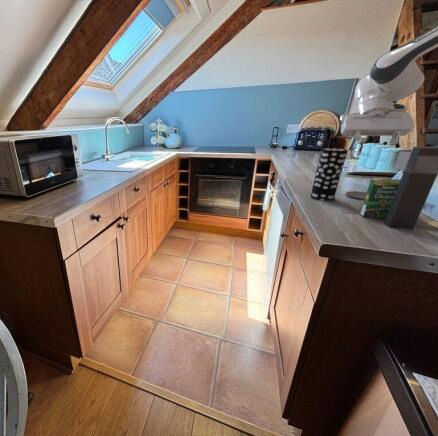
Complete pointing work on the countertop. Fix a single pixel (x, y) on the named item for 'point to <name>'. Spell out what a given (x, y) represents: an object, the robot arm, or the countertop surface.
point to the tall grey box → (412, 186)
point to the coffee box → (379, 198)
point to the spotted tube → (328, 174)
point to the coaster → (356, 195)
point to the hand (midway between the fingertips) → (378, 143)
